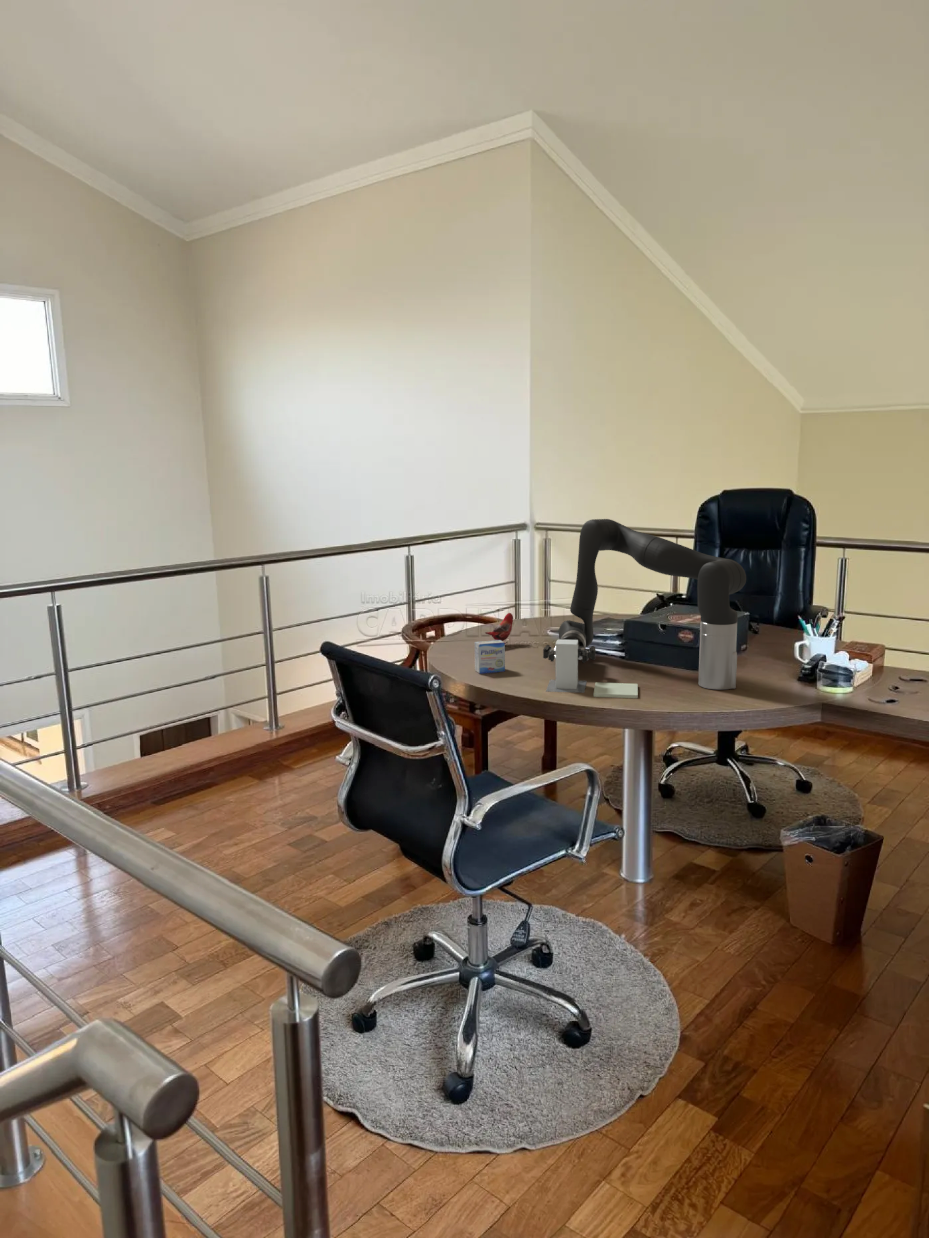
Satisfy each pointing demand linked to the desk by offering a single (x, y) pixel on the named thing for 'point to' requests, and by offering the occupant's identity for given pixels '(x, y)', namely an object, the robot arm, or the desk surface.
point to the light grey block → (566, 664)
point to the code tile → (579, 689)
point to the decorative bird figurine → (503, 628)
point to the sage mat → (616, 690)
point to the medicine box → (489, 656)
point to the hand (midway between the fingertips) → (567, 658)
